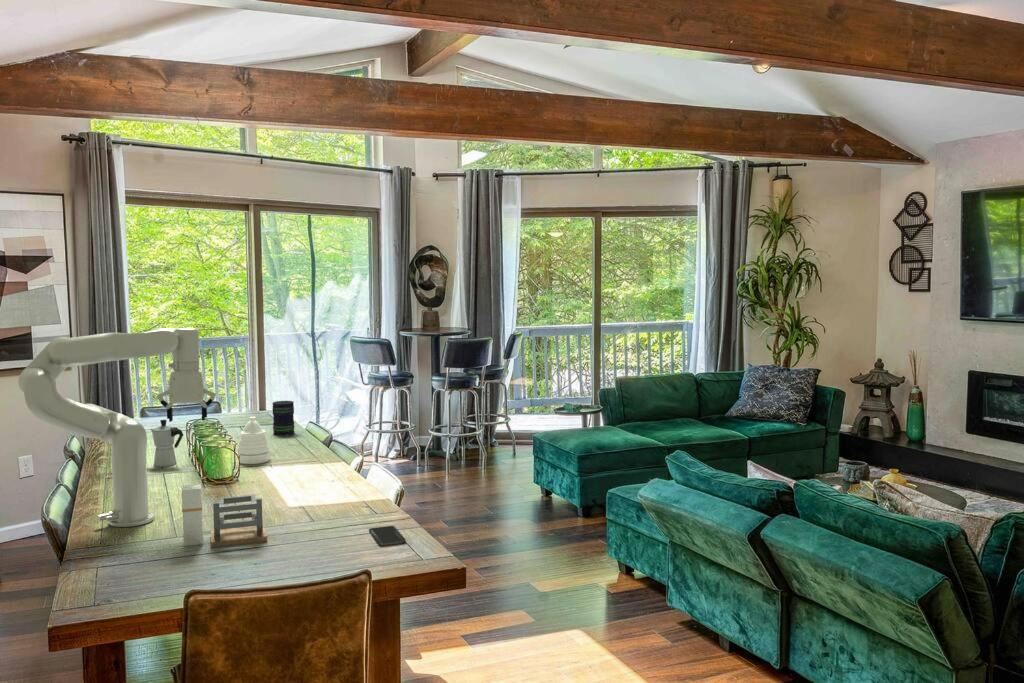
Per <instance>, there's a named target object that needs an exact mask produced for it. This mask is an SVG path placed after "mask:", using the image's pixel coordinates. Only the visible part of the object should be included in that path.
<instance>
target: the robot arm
mask: <svg viewBox="0 0 1024 683" xmlns="http://www.w3.org/2000/svg"><path fill="white" fill-rule="evenodd" d="M199 338H200V336H199V330H198V329H197V328H194V327H178V328H168V327H167V328H166V327H153V328H151V329H149V330H148V331H145V332H144V331H142V332H132V333H131V332H130V333H129V332H127V333H125V332H103V333H96V334H91V335H89V334H88V335H83V336H75V337H73V336H72V337H66V336H59V337H56V338H53V339H52V340H51V341H49V343H47V345H45V347H44V348H43V349H42V350H41V351H40V352H39V353H38V354H37V355H36V356H35V357H34V358H33V360H32V361H31V362H30V363H29V364H28V365H27V366H26V367H25V368H24V369H23V370H22V372H21V373H20V375H19V377H18V382H17V383H18V387H19V389H20V390H21V391H22V392H23V396H24V399H25V403H26V406H27V409H29V411H30V412H31V414H32V415H33V416H34V417H36V418H37V419H39V420H40V421H42V422H45V423H47V424H50V425H53V426H56V427H58V428H60V429H63V430H66V431H69V432H72V433H74V434H77V435H79V436H81V437H84V438H87V439H96V440H99V441H102V442H105V443H108V444H111V446H112V453H111V473H112V474H111V475H112V491H113V492H112V493H113V496H112V497H113V508H110V511H108V512H106V513H101V514H98V515H97V517H96V518H97V521H98V522H103V521H106V522H108V524H109V525H110V526H111V527H116V528H129V527H130V528H131V527H137V526H141V525H146V524H148V523H151V522H153V520H154V519H155V514H154V513H152V512H150V511H149V493H148V490H149V489H148V470H147V469H148V468H147V447H148V436H147V431H146V428H145V427H144V426H143V425H142V424H141V423H140V422H139V421H137V420H136V419H133V418H132V417H130V416H127V415H124V414H122V413H119V412H116V411H114V410H111V409H108V408H105V407H102V406H100V405H97V404H94V403H81V402H78V401H76V400H74V399H71V398H68V397H65V396H62V395H61V394H60V393H59V392H58V389H57V381H56V380H57V379H58V378H59V377H60V375H62V374H63V373H64V371H65V370H66V369H67V368H72V367H80V366H86V365H87V366H88V365H92V364H93V365H94V364H100V363H108V362H115V361H124V360H131V359H137V358H138V359H139V358H149V357H154V356H163V355H167V354H170V353H171V354H172V353H173V361H172V362H171V363H168V368H169V369H172V370H173V371H171V372H170V375H169V385H168V386H169V387H168V389H167V390H164V391H163V392H161V393H159V394H157V396H156V397H157V399H158V401H159V402H160V404H161V405H162V406H163V407H164V408H166V420H167V419H168V421H169V423H170V422H171V423H172V422H173V420H174V418H173V417H174V412H173V410H174V409H173V407H172V406H174V404H197V403H199V404H200V405H201V421H205V419H206V418H208V407H209V406H210V405H211V404H212V403H213V401H214V399H215V398H216V395H217V394H216V392H213V391H212V390H209V389H206V388H205V387H204V377H203V372H202V371H201V370H200V348H199V347H200V341H199ZM205 394H206V395H208V396H210V397H209V399H208V400H204V398H205ZM167 395H168V400H169V402H167V401H166V400H165V398H164V397H166V396H167Z"/></svg>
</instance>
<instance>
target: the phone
mask: <svg viewBox="0 0 1024 683" xmlns="http://www.w3.org/2000/svg"><path fill="white" fill-rule="evenodd" d="M368 532H369V533H368V534H370V536H371V538H373V540H374V542H375V543H376V545H377V546H378V547H381V548H382V547H383V548H384V547H391V546H397V545H398V546H399V545H405V544H406V541H407V540H406V538H405V537H404V535H403V534H401V532H400V531H399V530H398V529H397V527H396V526H395V525H388V526H387V525H386V526H380V527H378V526H377V527H371V528H369V529H368Z"/></svg>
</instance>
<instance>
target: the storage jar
mask: <svg viewBox="0 0 1024 683" xmlns="http://www.w3.org/2000/svg"><path fill="white" fill-rule="evenodd" d="M294 402H295V401H293V400H277V401H273V402H272V415H273V416H272V417H273V422H272V429H273V434H272V435H274V436H282V437H283V436H291V435H294V434H295V426H296V425H295V421H294V413H295V406H294Z"/></svg>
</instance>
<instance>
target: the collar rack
mask: <svg viewBox="0 0 1024 683" xmlns="http://www.w3.org/2000/svg"><path fill="white" fill-rule="evenodd" d="M226 504H227V505H226ZM212 507H213V510H212V511H213V530H210V548H220V547H229V546H236V545H237V546H238V545H248V544H256V543H257V544H258V543H265V542H268V534H267V530H266V525H265V524H264V523H263V498H262V497H256V494H247V495H236V496H225V497H218V501H214V502H212ZM249 518H251V519H249ZM238 519H240V520H238ZM241 519H243V520H241ZM244 519H245V520H244ZM230 520H231V521H230ZM232 520H236V521H232Z"/></svg>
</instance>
